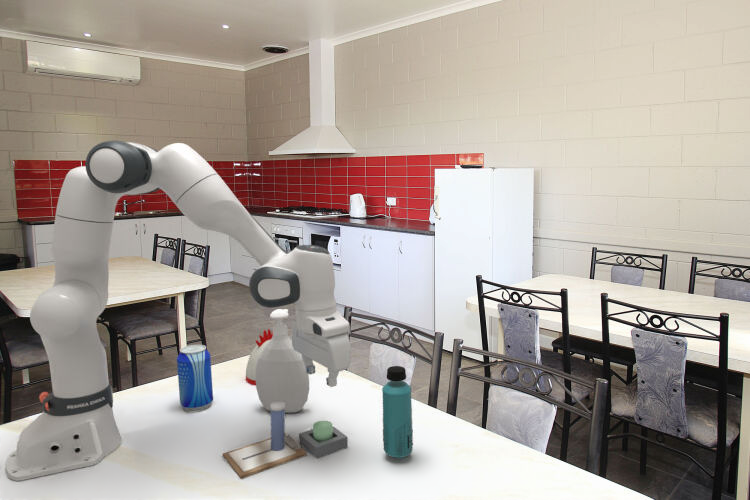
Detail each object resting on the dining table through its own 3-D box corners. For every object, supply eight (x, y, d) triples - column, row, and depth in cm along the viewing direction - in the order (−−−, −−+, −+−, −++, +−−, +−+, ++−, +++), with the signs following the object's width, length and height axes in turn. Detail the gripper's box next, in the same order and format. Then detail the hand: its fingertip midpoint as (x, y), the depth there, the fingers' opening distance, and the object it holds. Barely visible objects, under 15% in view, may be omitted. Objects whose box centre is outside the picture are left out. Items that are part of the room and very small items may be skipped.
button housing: (316, 458, 114) (316, 447, 114) (299, 443, 121) (298, 433, 120) (347, 447, 119) (347, 436, 119) (329, 433, 125) (329, 423, 125)
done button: (319, 447, 117) (318, 431, 116) (309, 439, 120) (309, 424, 120) (336, 441, 119) (336, 425, 119) (326, 433, 123) (326, 418, 122)
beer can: (217, 407, 141) (213, 349, 139) (185, 415, 136) (180, 356, 134) (208, 396, 148) (204, 341, 146) (176, 404, 143) (172, 347, 141)
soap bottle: (315, 403, 142) (312, 305, 138) (305, 417, 134) (301, 313, 130) (264, 400, 145) (260, 304, 141) (252, 413, 137) (246, 311, 133)
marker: (274, 451, 115) (274, 407, 115) (268, 446, 118) (268, 403, 117) (286, 448, 117) (287, 404, 116) (280, 443, 120) (281, 400, 119)
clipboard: (241, 478, 107) (240, 472, 107) (222, 456, 116) (222, 450, 116) (306, 455, 116) (306, 449, 116) (284, 435, 125) (284, 430, 125)
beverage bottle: (411, 466, 111) (410, 374, 108) (380, 463, 112) (378, 372, 109) (415, 450, 117) (414, 363, 114) (385, 447, 118) (384, 361, 116)
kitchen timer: (301, 376, 162) (299, 329, 159) (263, 390, 152) (261, 339, 150) (274, 366, 171) (272, 321, 169) (237, 378, 161) (234, 330, 159)
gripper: (282, 312, 122) (287, 369, 124) (327, 331, 106) (331, 397, 108) (307, 307, 126) (310, 363, 128) (354, 325, 109) (357, 389, 111)
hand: (320, 379), depth 118 cm, fingers open, 8 cm apart
